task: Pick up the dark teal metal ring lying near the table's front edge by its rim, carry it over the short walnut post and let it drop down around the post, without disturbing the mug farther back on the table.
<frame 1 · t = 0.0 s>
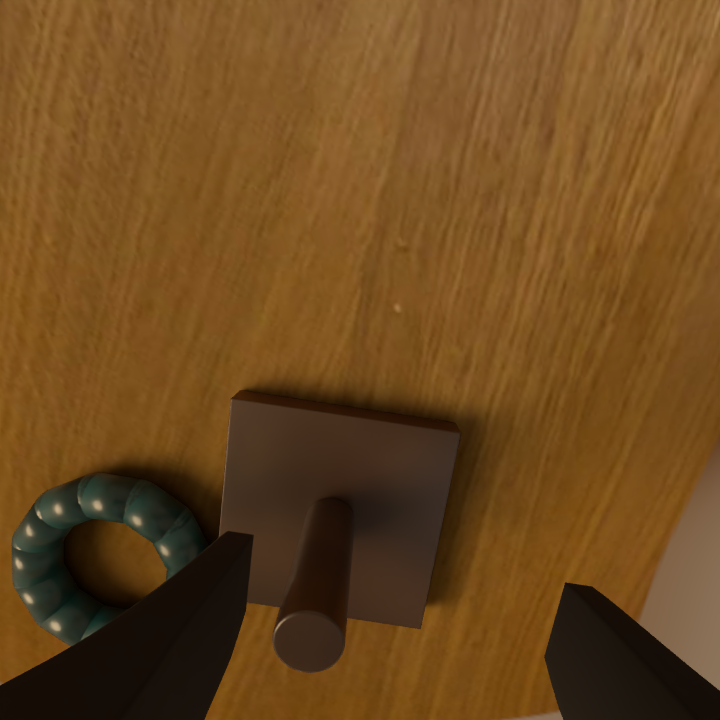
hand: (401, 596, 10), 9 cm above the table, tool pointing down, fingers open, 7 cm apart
ring: (113, 566, 19), point 1 cm above the table
post: (333, 504, 19), on the table
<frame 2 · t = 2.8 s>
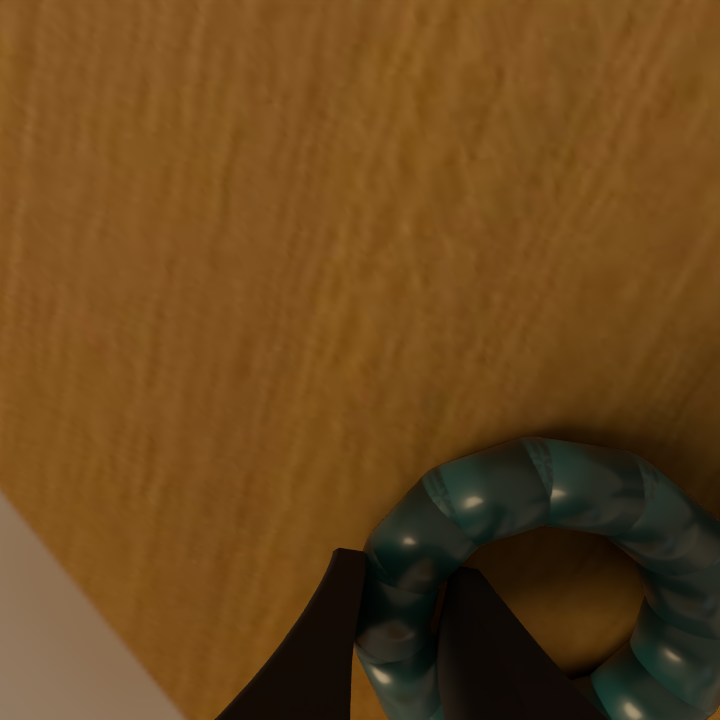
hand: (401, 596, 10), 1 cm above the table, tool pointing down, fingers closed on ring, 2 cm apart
ring: (539, 617, 10), point 1 cm above the table, touching gripper
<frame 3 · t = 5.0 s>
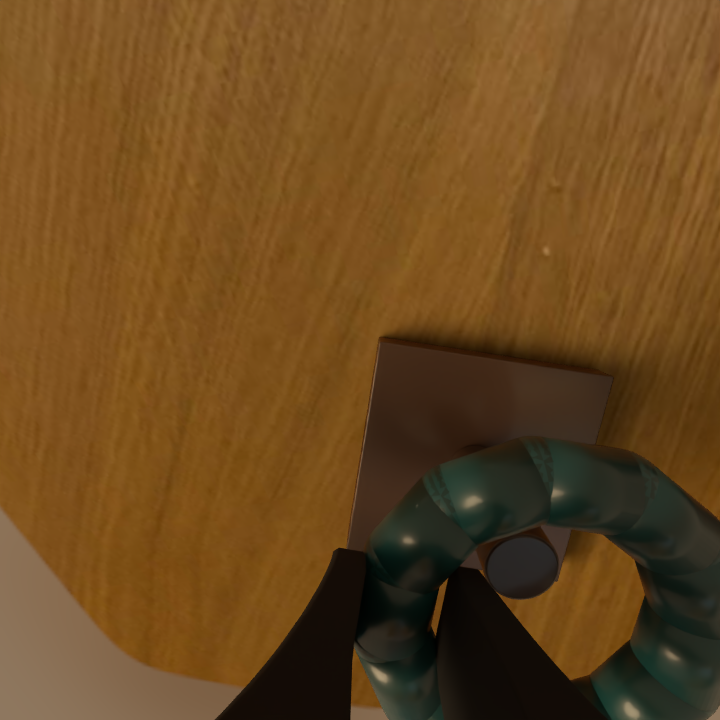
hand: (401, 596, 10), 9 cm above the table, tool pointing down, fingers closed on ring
ring: (539, 617, 10), point 9 cm above the table, touching gripper
post: (467, 455, 19), on the table
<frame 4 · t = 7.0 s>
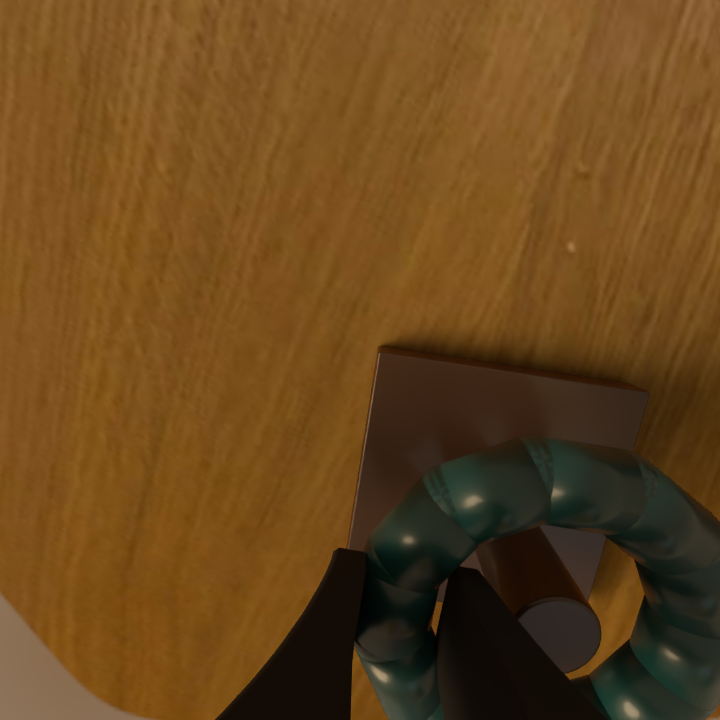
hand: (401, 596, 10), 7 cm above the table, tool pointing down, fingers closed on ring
ring: (539, 616, 10), point 7 cm above the table, touching gripper
post: (478, 479, 16), on the table
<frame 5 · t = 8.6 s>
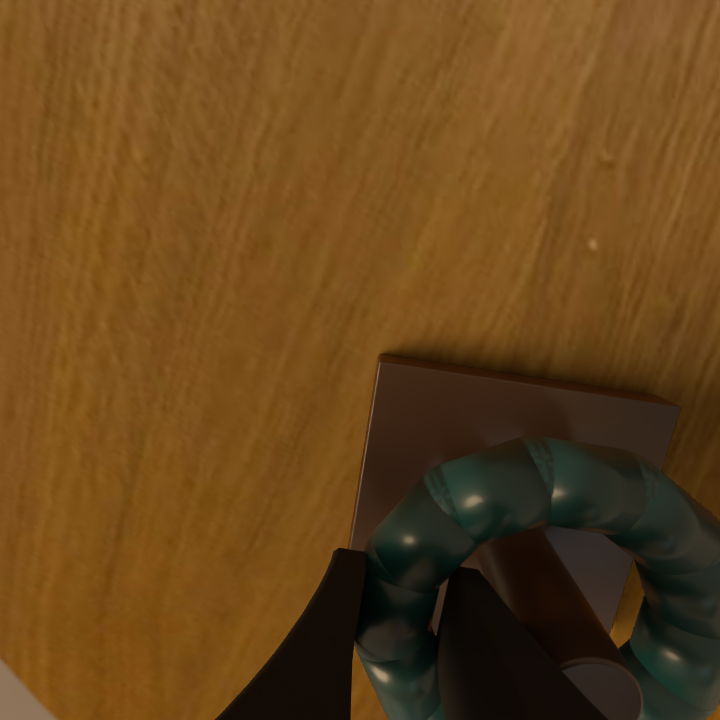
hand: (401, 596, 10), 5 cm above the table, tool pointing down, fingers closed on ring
ring: (539, 616, 10), point 5 cm above the table, touching gripper
post: (488, 500, 15), on the table
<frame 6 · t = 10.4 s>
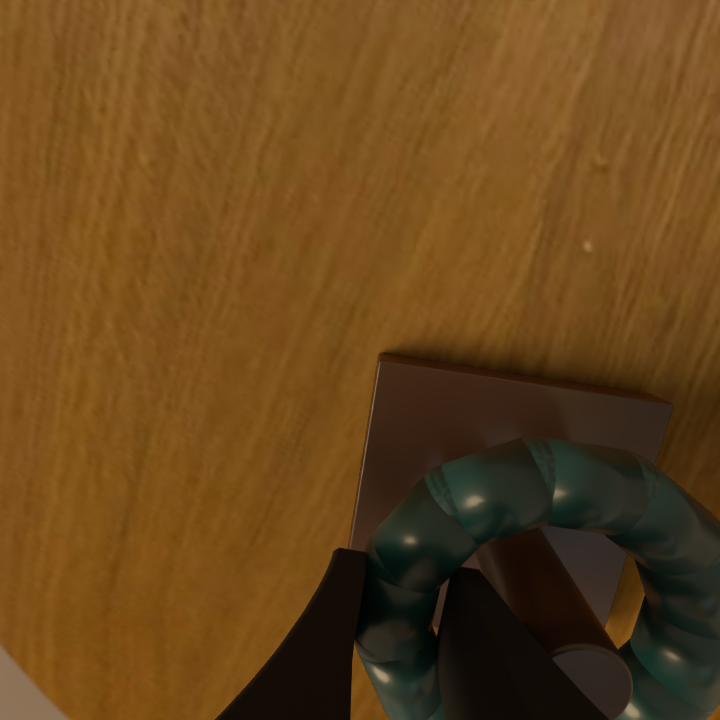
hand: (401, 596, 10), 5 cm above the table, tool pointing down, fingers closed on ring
ring: (540, 616, 10), point 5 cm above the table, touching gripper
post: (486, 496, 15), on the table
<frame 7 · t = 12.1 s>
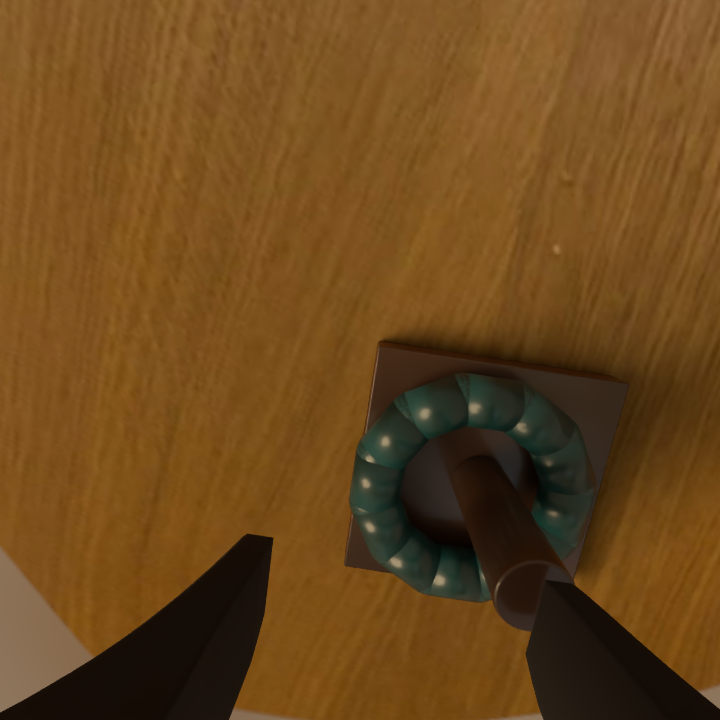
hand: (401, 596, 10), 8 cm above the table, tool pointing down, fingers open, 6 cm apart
ring: (469, 490, 16), point 2 cm above the table, touching post
post: (471, 466, 18), on the table
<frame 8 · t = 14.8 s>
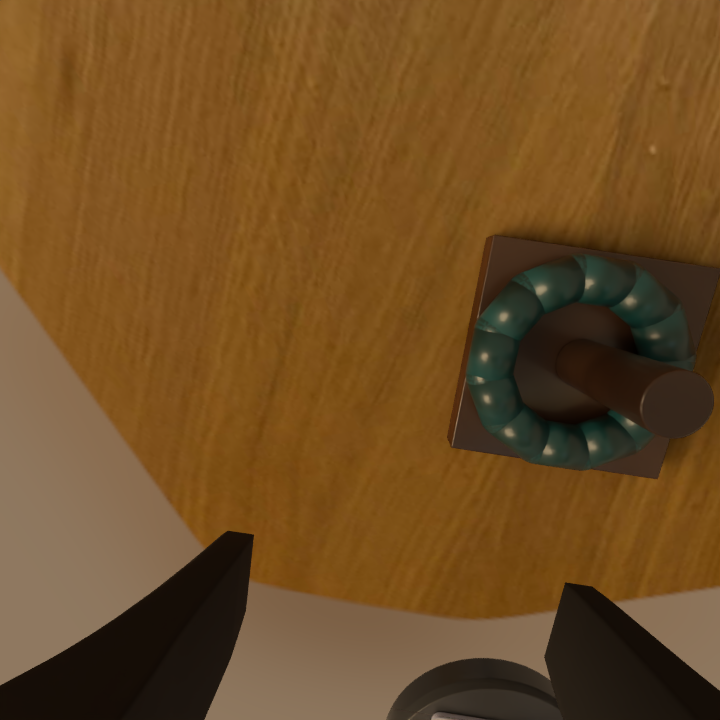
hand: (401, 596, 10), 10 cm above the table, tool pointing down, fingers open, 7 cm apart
ring: (576, 365, 17), point 2 cm above the table, touching post
post: (567, 357, 19), on the table
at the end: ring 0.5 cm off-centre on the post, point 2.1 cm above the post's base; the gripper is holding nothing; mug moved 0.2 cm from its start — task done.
